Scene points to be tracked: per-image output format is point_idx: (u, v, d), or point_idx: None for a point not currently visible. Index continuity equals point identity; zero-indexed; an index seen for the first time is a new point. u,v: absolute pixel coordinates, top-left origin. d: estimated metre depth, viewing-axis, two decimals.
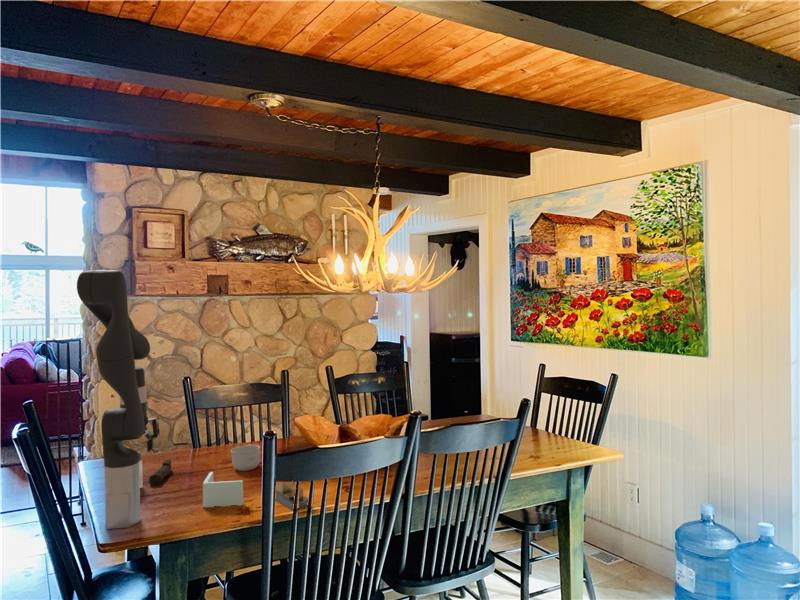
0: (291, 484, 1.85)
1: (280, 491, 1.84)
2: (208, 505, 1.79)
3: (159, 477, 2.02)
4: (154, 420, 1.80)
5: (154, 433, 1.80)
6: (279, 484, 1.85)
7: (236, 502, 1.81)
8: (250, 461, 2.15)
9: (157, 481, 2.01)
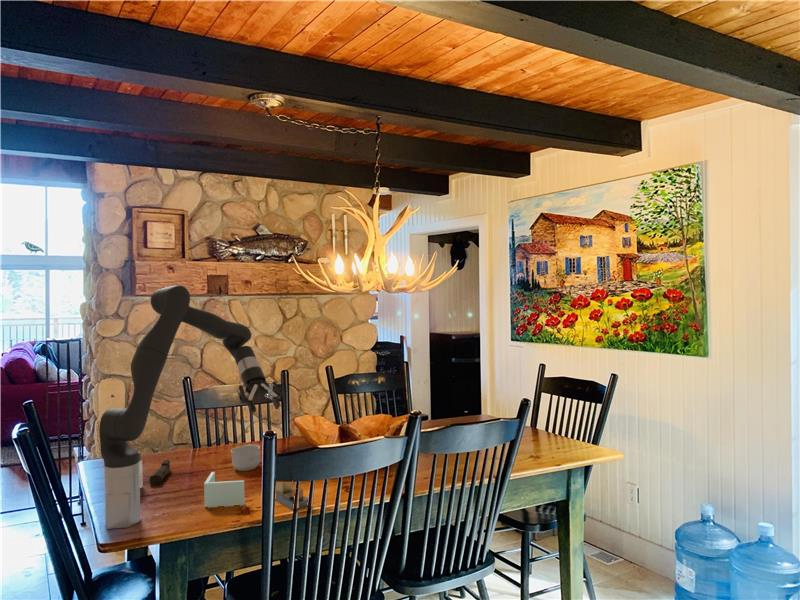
0: (291, 484, 1.85)
1: (280, 491, 1.84)
2: (209, 505, 1.79)
3: (159, 477, 2.02)
4: (274, 382, 2.04)
5: (278, 391, 2.02)
6: (279, 484, 1.85)
7: (237, 502, 1.80)
8: (250, 461, 2.15)
9: (157, 481, 2.01)
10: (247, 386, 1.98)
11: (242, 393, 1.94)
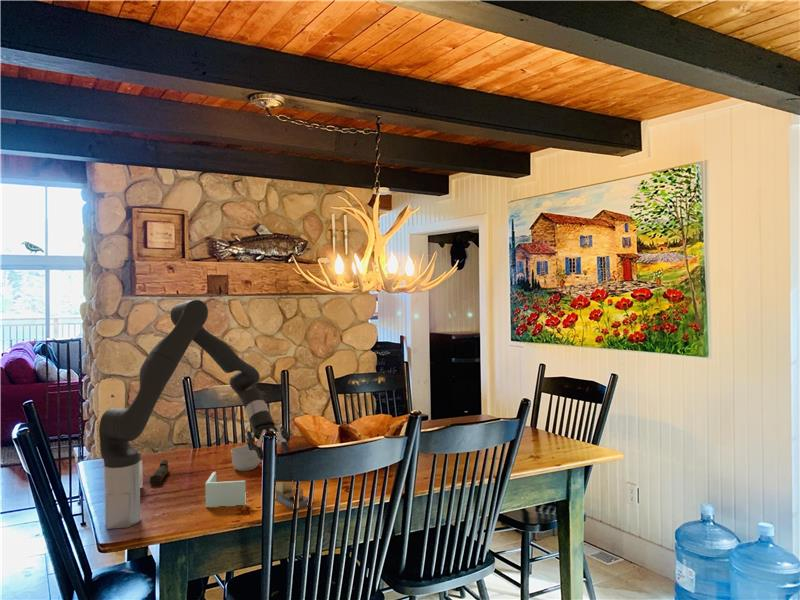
0: (291, 484, 1.85)
1: (280, 491, 1.84)
2: (211, 505, 1.79)
3: (160, 477, 2.02)
4: (283, 426, 2.00)
5: (287, 436, 1.97)
6: (279, 484, 1.85)
7: (238, 502, 1.80)
8: (250, 461, 2.15)
9: (158, 481, 2.02)
10: (255, 432, 1.93)
11: (250, 439, 1.90)
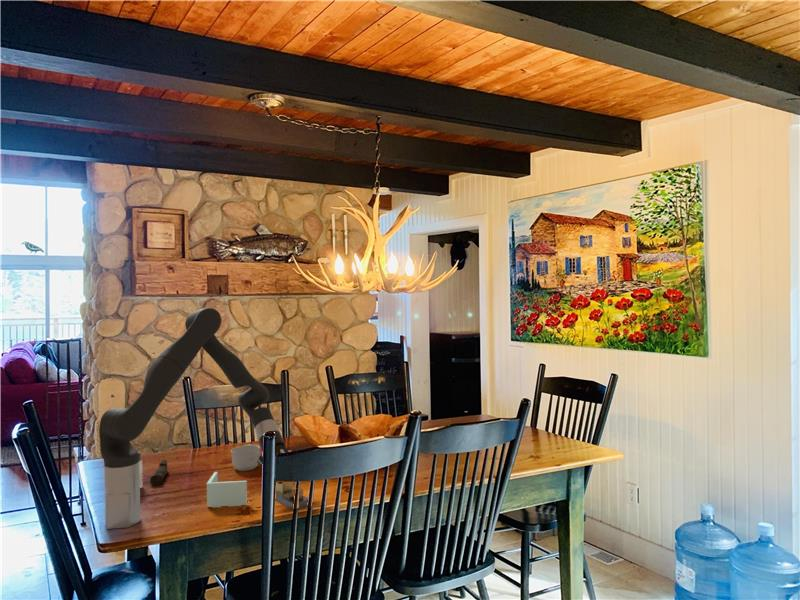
0: (291, 484, 1.85)
1: (280, 491, 1.84)
2: (212, 505, 1.79)
3: (160, 477, 2.02)
4: (294, 450, 1.93)
5: None
6: (279, 484, 1.85)
7: (240, 503, 1.80)
8: (250, 461, 2.15)
9: (158, 481, 2.02)
10: None
11: None
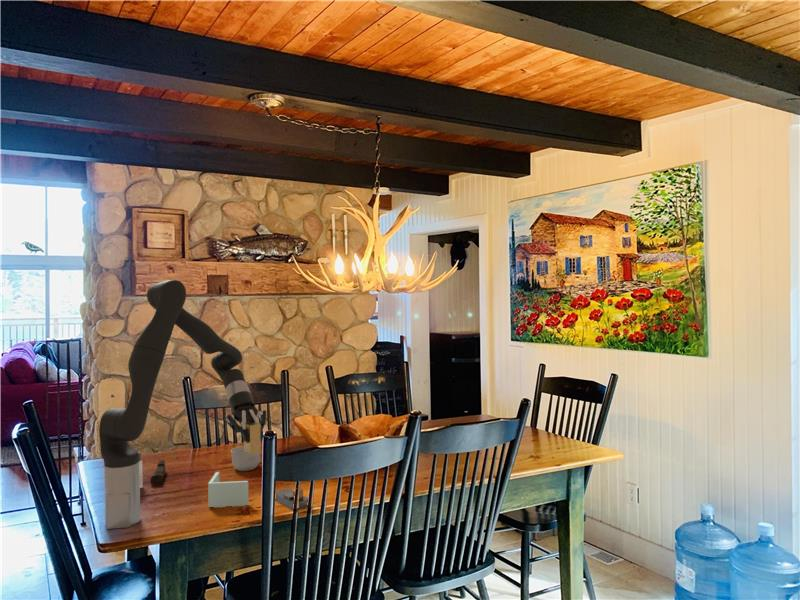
0: (259, 443, 1.84)
1: (248, 450, 1.83)
2: (213, 505, 1.79)
3: (161, 477, 2.02)
4: (265, 411, 1.92)
5: (263, 421, 1.89)
6: (247, 443, 1.84)
7: (241, 503, 1.80)
8: (250, 461, 2.15)
9: (159, 481, 2.02)
10: (235, 413, 1.87)
11: (234, 422, 1.84)
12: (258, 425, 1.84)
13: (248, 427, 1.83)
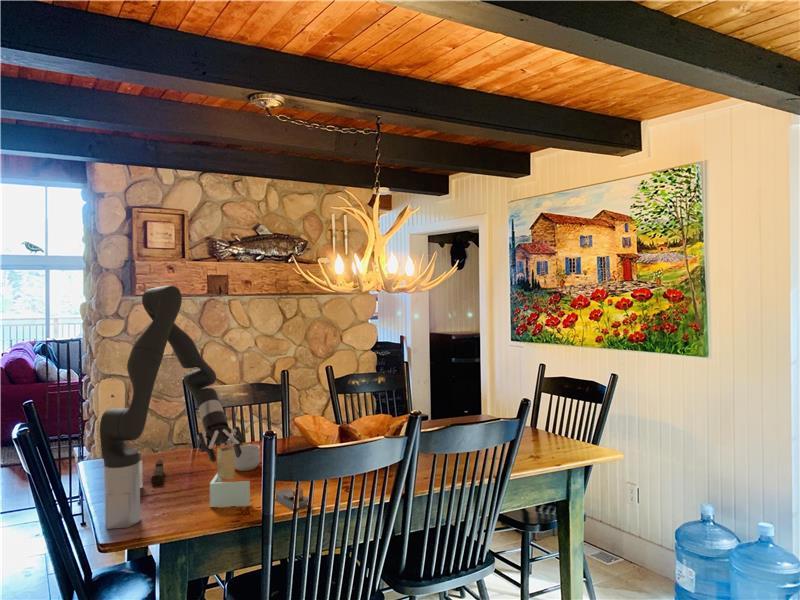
0: (232, 468, 1.85)
1: (221, 475, 1.84)
2: (215, 505, 1.79)
3: (162, 477, 2.02)
4: (237, 427, 1.94)
5: (240, 437, 1.91)
6: (220, 468, 1.84)
7: (243, 503, 1.80)
8: (250, 461, 2.15)
9: (160, 481, 2.02)
10: (207, 433, 1.87)
11: (202, 441, 1.84)
12: (231, 450, 1.85)
13: (221, 452, 1.84)
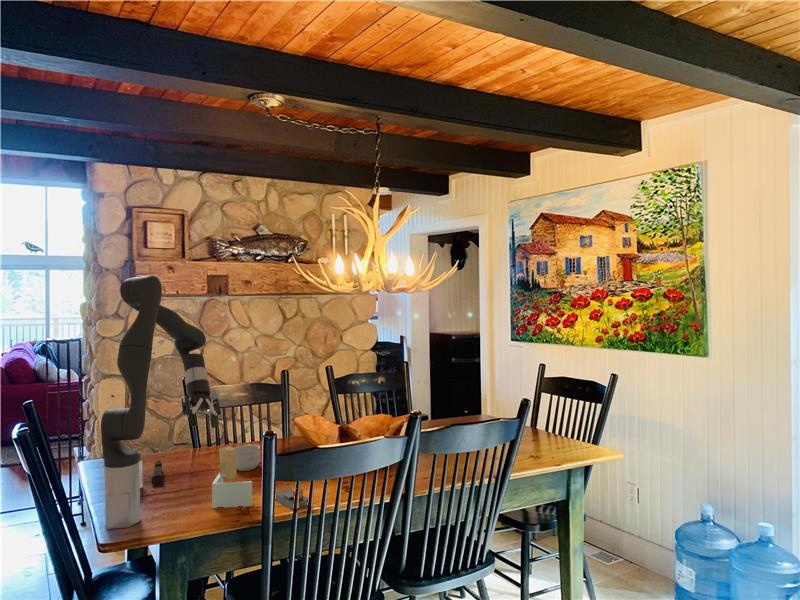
0: (235, 468, 1.85)
1: (224, 475, 1.84)
2: (217, 506, 1.79)
3: (162, 477, 2.02)
4: (216, 399, 2.04)
5: (218, 410, 2.02)
6: (223, 468, 1.84)
7: (245, 503, 1.80)
8: (250, 461, 2.15)
9: (160, 481, 2.02)
10: (193, 398, 1.96)
11: (187, 404, 1.92)
12: (234, 450, 1.84)
13: (224, 452, 1.83)
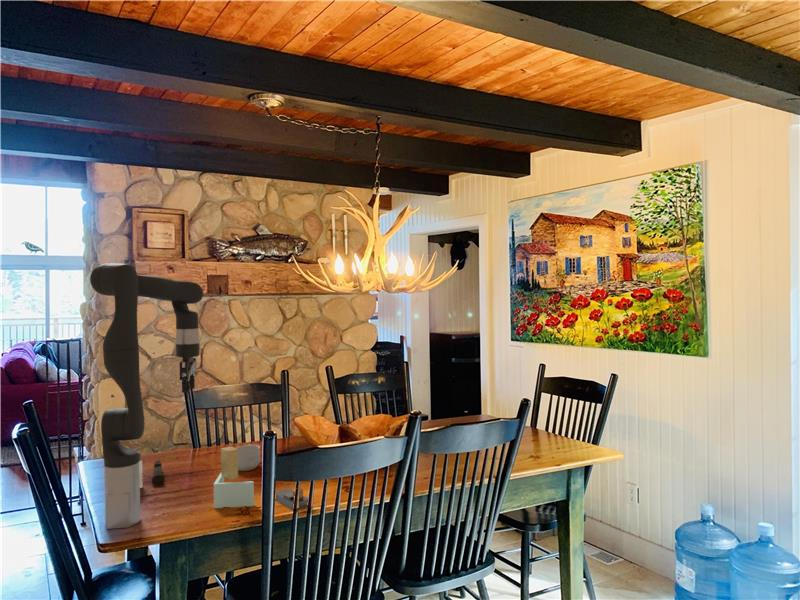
0: (236, 469, 1.84)
1: (225, 476, 1.84)
2: (219, 506, 1.79)
3: (162, 477, 2.02)
4: (195, 358, 2.00)
5: (195, 370, 2.00)
6: (224, 468, 1.84)
7: (247, 503, 1.80)
8: (250, 461, 2.15)
9: (161, 481, 2.02)
10: (188, 362, 1.90)
11: (187, 372, 1.87)
12: (235, 450, 1.84)
13: (225, 453, 1.83)
